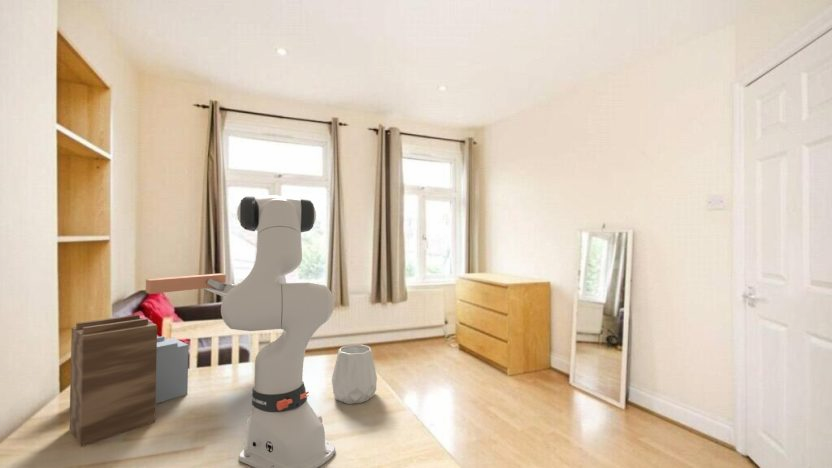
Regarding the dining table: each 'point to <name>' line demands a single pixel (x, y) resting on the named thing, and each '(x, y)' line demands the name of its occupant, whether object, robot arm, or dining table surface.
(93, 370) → the stand
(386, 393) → the dining table surface
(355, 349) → the vase
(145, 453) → the dining table surface
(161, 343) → the step
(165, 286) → the baton
